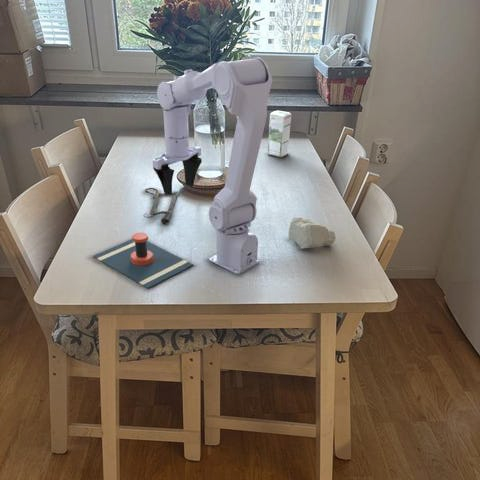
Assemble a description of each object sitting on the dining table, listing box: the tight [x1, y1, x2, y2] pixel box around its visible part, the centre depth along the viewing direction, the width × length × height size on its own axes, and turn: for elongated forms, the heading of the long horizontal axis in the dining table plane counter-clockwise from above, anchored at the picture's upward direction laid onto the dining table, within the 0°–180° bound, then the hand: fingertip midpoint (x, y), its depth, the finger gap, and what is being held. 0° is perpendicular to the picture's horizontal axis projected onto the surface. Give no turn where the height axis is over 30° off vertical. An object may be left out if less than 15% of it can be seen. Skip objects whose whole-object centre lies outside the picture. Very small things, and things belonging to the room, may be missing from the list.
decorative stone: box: [288, 217, 336, 250], centre depth 128 cm, size 11×9×10 cm
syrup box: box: [267, 110, 292, 158], centre depth 180 cm, size 6×6×14 cm
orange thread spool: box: [131, 232, 153, 266], centre depth 118 cm, size 5×5×6 cm
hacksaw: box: [143, 187, 179, 225], centre depth 145 cm, size 24×10×2 cm, turn 179°
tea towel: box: [92, 238, 194, 290], centre depth 120 cm, size 20×14×1 cm
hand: (178, 189), depth 130 cm, fingers open, 7 cm apart
